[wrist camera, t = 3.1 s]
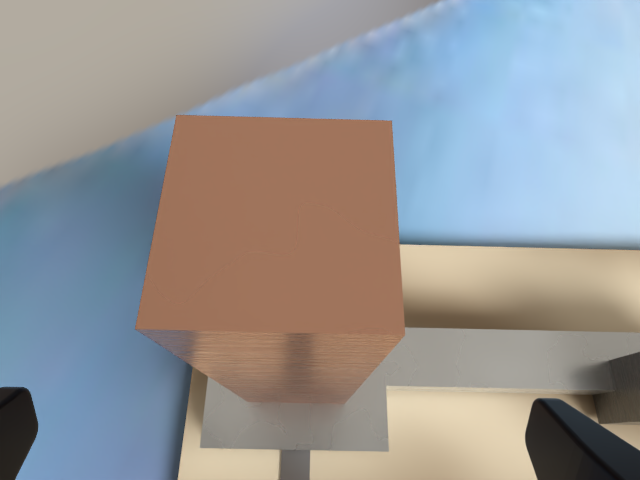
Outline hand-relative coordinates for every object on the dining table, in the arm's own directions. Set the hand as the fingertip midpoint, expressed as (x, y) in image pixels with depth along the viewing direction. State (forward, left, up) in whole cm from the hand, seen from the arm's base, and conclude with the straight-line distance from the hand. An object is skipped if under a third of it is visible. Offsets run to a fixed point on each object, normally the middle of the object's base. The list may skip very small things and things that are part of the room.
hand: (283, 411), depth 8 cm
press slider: (-1, -6, -8) cm, 11 cm away
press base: (-7, -4, -10) cm, 12 cm away
